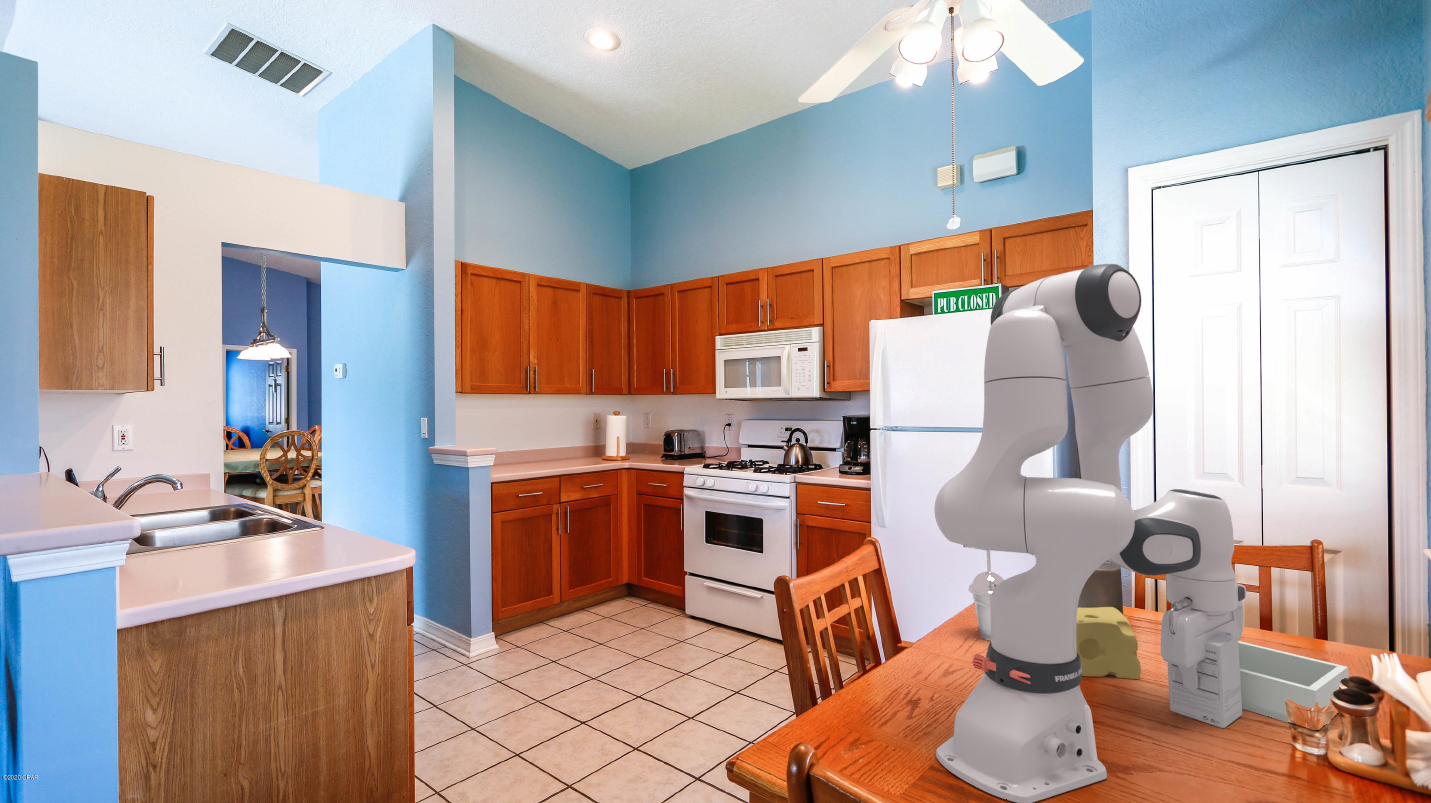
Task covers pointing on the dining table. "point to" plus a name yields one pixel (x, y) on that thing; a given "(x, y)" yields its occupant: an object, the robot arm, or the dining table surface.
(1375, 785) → the dining table surface
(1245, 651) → the box
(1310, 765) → the dining table surface
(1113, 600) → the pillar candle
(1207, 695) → the supplement box
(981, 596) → the cup with straw
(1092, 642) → the cheese
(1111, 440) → the robot arm
